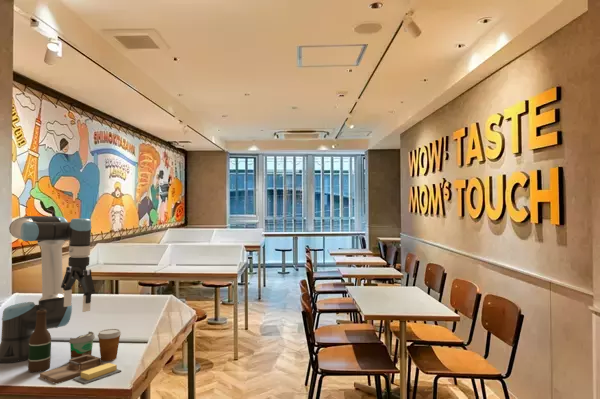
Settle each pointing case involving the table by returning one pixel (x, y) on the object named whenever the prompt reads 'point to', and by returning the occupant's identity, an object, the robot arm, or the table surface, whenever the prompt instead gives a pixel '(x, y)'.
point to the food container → (81, 345)
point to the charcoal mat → (95, 377)
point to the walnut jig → (72, 368)
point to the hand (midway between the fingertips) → (76, 308)
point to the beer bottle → (39, 345)
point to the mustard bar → (98, 371)
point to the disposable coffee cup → (109, 343)
